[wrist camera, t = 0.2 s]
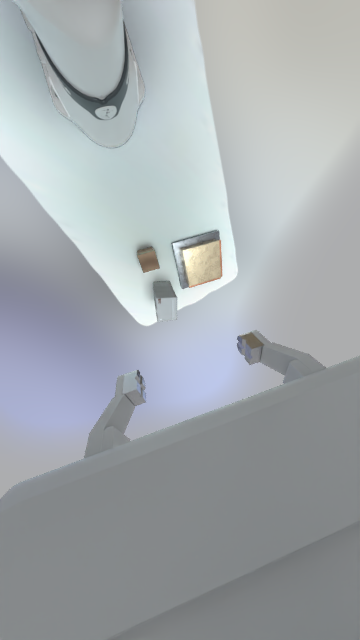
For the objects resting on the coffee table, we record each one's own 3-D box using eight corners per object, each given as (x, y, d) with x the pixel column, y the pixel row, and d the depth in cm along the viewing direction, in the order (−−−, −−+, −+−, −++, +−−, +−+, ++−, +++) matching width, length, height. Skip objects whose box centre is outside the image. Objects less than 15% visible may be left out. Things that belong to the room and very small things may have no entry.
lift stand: (171, 243, 50) (175, 245, 45) (216, 230, 51) (224, 231, 46) (181, 287, 59) (185, 293, 54) (219, 275, 60) (226, 280, 55)
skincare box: (170, 299, 61) (179, 321, 48) (152, 301, 60) (157, 324, 47) (170, 279, 56) (180, 297, 44) (150, 280, 55) (155, 299, 42)
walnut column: (136, 250, 49) (136, 255, 42) (152, 246, 49) (154, 250, 42) (142, 266, 52) (143, 273, 45) (157, 262, 52) (160, 268, 46)
